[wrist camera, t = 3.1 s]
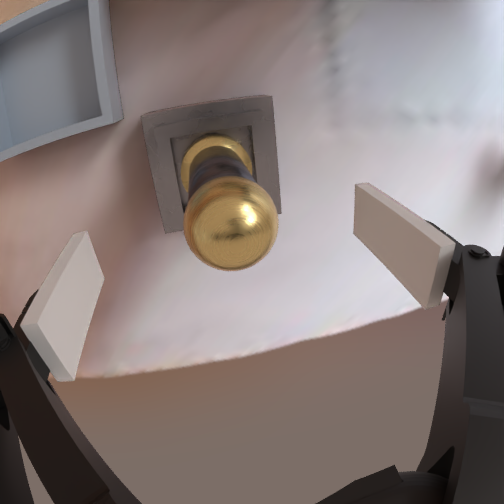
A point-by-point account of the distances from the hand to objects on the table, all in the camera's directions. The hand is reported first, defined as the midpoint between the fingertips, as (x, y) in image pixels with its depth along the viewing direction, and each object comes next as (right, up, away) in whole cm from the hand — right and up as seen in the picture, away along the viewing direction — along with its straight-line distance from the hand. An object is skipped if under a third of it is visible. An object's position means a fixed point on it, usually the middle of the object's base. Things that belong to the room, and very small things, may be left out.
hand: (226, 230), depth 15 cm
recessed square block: (-2, +7, +12) cm, 14 cm away
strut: (-2, +6, +9) cm, 11 cm away
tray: (-16, +14, +5) cm, 22 cm away
